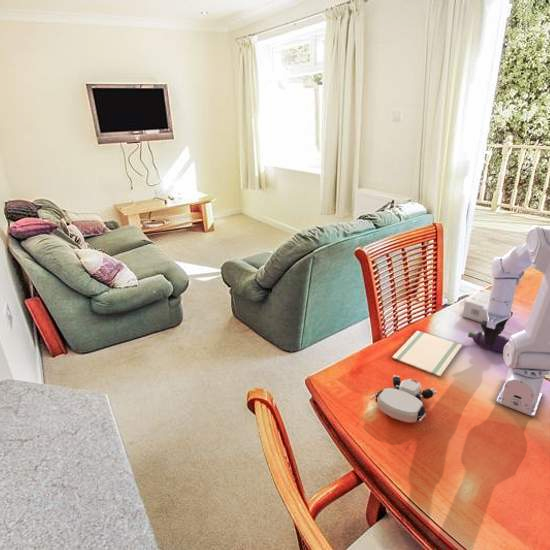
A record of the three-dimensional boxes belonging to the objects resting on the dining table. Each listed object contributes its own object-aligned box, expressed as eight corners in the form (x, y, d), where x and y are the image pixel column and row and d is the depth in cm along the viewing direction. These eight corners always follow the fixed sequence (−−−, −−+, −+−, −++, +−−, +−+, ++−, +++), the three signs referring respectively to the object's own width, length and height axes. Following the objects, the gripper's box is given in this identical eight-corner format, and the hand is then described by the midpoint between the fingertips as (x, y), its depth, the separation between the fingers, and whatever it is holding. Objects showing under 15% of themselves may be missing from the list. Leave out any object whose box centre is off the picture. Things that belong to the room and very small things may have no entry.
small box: (486, 325, 124) (501, 310, 131) (489, 308, 121) (504, 294, 129) (461, 316, 129) (477, 303, 137) (464, 300, 127) (480, 287, 134)
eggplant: (513, 350, 110) (516, 337, 108) (509, 358, 107) (512, 344, 105) (470, 337, 118) (472, 324, 116) (465, 344, 115) (467, 331, 113)
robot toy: (391, 382, 102) (367, 412, 92) (393, 368, 101) (368, 397, 90) (438, 400, 95) (417, 435, 84) (440, 386, 93) (419, 419, 83)
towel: (440, 376, 102) (440, 375, 102) (391, 358, 111) (392, 356, 111) (462, 346, 114) (462, 345, 114) (417, 331, 123) (417, 330, 123)
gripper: (492, 285, 113) (485, 323, 118) (478, 304, 103) (470, 345, 109) (519, 291, 108) (510, 330, 114) (507, 311, 99) (497, 353, 104)
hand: (493, 338), depth 111 cm, fingers open, 7 cm apart
